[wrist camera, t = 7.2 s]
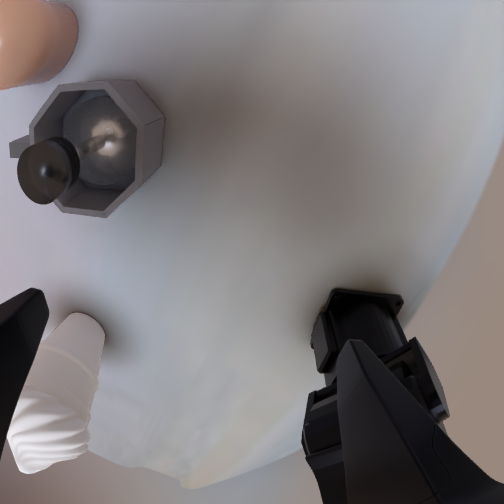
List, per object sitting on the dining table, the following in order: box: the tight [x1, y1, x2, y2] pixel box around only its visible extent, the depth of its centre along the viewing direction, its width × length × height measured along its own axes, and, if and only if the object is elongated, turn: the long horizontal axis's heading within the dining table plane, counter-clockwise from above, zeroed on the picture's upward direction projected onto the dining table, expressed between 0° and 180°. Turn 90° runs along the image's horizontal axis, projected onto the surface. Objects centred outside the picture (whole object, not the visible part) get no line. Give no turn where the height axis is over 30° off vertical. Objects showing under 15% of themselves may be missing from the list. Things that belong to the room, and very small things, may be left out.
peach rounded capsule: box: [0, 0, 78, 90], centre depth 11 cm, size 6×6×6 cm
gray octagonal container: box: [9, 80, 165, 218], centre depth 15 cm, size 10×8×4 cm
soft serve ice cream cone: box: [7, 313, 105, 474], centre depth 19 cm, size 8×8×16 cm
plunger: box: [17, 96, 137, 204], centre depth 14 cm, size 6×6×7 cm
